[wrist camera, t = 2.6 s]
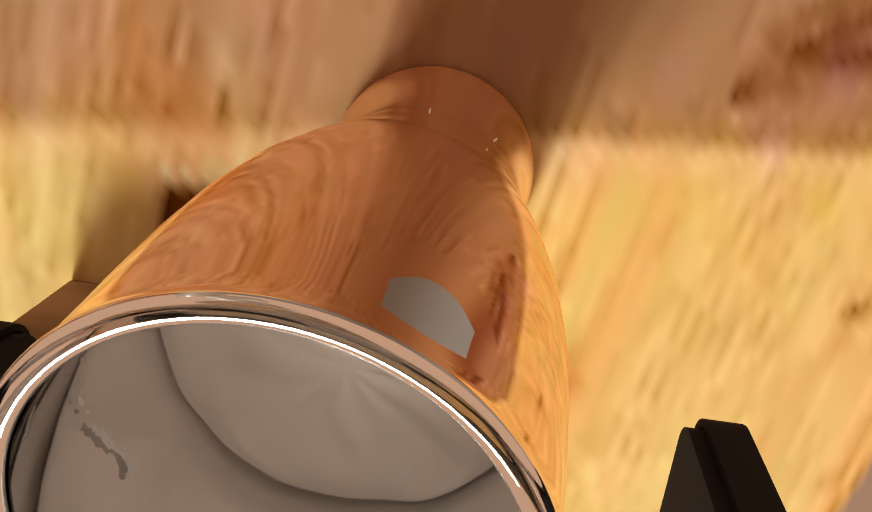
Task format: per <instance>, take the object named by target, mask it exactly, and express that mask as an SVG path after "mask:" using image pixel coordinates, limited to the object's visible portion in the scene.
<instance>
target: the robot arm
mask: <svg viewBox="0 0 872 512" xmlns="http://www.w3.org/2000/svg"><path fill="white" fill-rule="evenodd" d="M36 341H37V340H36V339H35V337H33V336H31V335H30V333H29V331H28V329H27V328H26V327H25V326H24V325H21V324H18V323H11V322H4V321H0V380H1V378H2V377H3V375H4V374H5V372H6V371H7V370H8V369H9V367H10V366H11V365H12V364H13V363H14V362H15V361H16V360H17V358H18V357H19V356H20V355H21V354H22V353H23V352H24V351H26V350H27V349H28V348H29V347H30V346H31V345H32V344H33V343H35V342H36ZM660 512H786V510H785V508H784V505H783V503H782V501H781V499H780V497H779V495H778V492H777V490H776V488H775V486H774V484H773V481H772V479H771V477H770V475H769V473H768V471H767V468H766V466H765V464H764V462H763V460H762V458H761V455H760V453H759V451H758V449H757V447H756V444H755V442H754V440H753V438H752V436H751V434H750V431H749V430H748V428H747V427H746V426H745V425H743V424H738V423H731V422H723V421H716V420H709V419H700V420H698V422H697V424H696V426H695V428H688V427H684V428H683V429H682V431H681V433H680V436H679V440H678V443H677V447H676V451H675V455H674V459H673V463H672V466H671V470H670V474H669V478H668V482H667V486H666V490H665V493H664V497H663V501H662V505H661V509H660Z"/></svg>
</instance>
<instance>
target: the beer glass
mask: <svg viewBox="0 0 872 512" xmlns="http://www.w3.org/2000/svg"><path fill="white" fill-rule="evenodd" d="M533 176H534V158H533V151H532V146H531V142H530V138H529V135H528V133H527V130H526V128H525V126H524V124H523V122H522V120H521V118H520V116H519V115H518V113H517V112H516V110H515V109H514V107H513V106H512V105H511V104H510V103H509V101H508V100H507V99H506V98H505V97H504V96H503V95H502V94H501V93H500V92H498V91H497V90H496V89H495V88H493V87H492V86H491V85H489V84H488V83H486V82H485V81H483V80H481V79H479V78H477V77H475V76H473V75H471V74H469V73H466V72H463V71H460V70H457V69H453V68H448V67H440V66H422V67H415V68H409V69H405V70H401V71H398V72H395V73H392V74H390V75H388V76H386V77H383V78H382V79H380V80H378V81H376V82H375V83H373V84H372V85H371V86H369V87H368V88H367V89H366V90H365V91H363V92H362V93H361V94H360V95H359V96H358V97H357V99H356V100H355V101H354V102H353V103H352V105H351V106H350V107H349V109H348V110H347V112H346V113H345V115H344V117H343V119H342V121H341V123H338V124H333V125H329V126H325V127H322V128H318V129H315V130H313V131H310V132H307V133H305V134H302V135H299V136H297V137H294V138H292V139H289V140H287V141H284V142H281V143H279V144H276V145H274V146H272V147H270V148H268V149H266V150H264V151H262V152H260V153H258V154H256V155H255V156H253V157H251V158H250V159H248V160H247V161H245V162H244V163H242V164H241V165H239V166H237V167H236V168H234V169H233V170H231V171H230V172H228V173H227V174H225V175H223V176H222V177H220V178H219V179H217V180H216V181H214V182H213V183H211V184H210V185H208V186H207V187H206V188H204V189H203V190H202V191H201V192H199V193H198V194H197V195H196V196H195V197H193V198H192V199H191V200H190V201H189V202H187V203H186V204H185V205H184V206H183V207H181V208H180V209H179V210H178V211H177V212H175V213H174V214H173V215H172V216H171V217H169V218H168V219H167V220H166V221H164V222H163V223H162V224H161V225H160V226H158V227H157V228H156V229H155V230H154V231H153V232H152V233H151V234H150V235H149V236H148V237H147V238H145V239H144V240H143V241H142V242H141V243H140V244H139V245H138V246H137V247H136V248H135V249H134V250H133V251H132V252H131V253H130V254H129V255H128V256H127V257H126V258H125V259H124V260H123V261H122V262H121V263H120V264H119V265H117V266H116V267H115V268H114V269H113V270H112V271H111V272H110V273H109V274H108V275H107V276H106V277H105V278H104V280H103V281H102V282H101V283H100V284H99V285H98V286H97V287H96V288H95V289H94V290H93V291H92V292H91V293H90V294H89V295H88V296H87V297H86V298H85V299H84V300H83V301H82V302H81V303H80V304H79V305H78V306H77V307H76V308H75V309H74V310H73V311H72V312H71V313H70V314H69V315H68V316H67V317H66V318H65V319H64V320H63V321H62V322H61V323H60V324H59V325H58V326H57V327H56V328H54V329H52V330H51V331H50V332H48V333H47V334H45V335H44V336H42V337H41V338H40V339H38V340H37V341H36V342H35V343H33V344H32V345H31V346H30V347H29V348H28V349H27V350H26V351H24V352H23V353H22V354H21V355H20V356H19V357H18V358H17V360H16V361H15V362H14V363H13V364H12V365H11V366H10V367H9V369H8V370H7V371H6V372H5V374H4V375H3V377H2V378H1V380H0V512H564V505H565V490H566V474H567V454H568V424H569V392H568V363H567V345H566V336H565V330H564V323H563V317H562V310H561V304H560V298H559V291H558V286H557V282H556V278H555V275H554V271H553V268H552V265H551V262H550V260H549V257H548V254H547V252H546V249H545V246H544V244H543V241H542V238H541V236H540V233H539V231H538V228H537V226H536V224H535V222H534V219H533V218H532V216H531V214H530V212H529V210H528V208H527V206H526V205H527V203H528V200H529V197H530V193H531V189H532V184H533Z"/></svg>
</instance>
